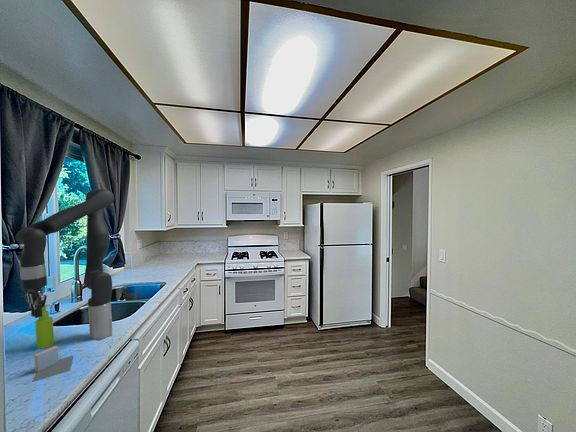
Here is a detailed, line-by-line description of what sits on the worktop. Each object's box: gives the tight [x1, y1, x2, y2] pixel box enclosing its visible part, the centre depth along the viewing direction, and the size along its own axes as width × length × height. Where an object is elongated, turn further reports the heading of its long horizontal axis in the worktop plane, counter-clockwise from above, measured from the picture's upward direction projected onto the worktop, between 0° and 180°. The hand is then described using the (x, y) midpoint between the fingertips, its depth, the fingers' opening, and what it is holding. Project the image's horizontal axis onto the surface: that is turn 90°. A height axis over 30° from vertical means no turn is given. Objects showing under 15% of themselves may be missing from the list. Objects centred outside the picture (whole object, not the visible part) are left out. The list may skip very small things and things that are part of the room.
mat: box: [31, 355, 74, 383], centre depth 103 cm, size 11×12×1 cm
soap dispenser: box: [34, 304, 55, 350], centre depth 118 cm, size 6×7×20 cm
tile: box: [33, 345, 59, 373], centre depth 103 cm, size 2×7×7 cm, turn 155°
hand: (36, 316), depth 105 cm, fingers closed
